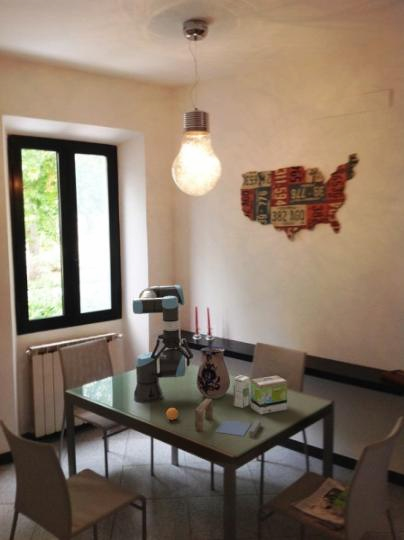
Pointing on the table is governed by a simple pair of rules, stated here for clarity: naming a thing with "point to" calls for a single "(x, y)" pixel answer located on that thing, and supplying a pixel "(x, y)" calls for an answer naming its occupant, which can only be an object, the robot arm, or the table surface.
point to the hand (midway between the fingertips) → (172, 372)
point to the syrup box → (241, 391)
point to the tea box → (268, 394)
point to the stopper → (255, 428)
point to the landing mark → (233, 428)
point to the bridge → (199, 410)
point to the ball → (172, 413)
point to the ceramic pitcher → (213, 373)
